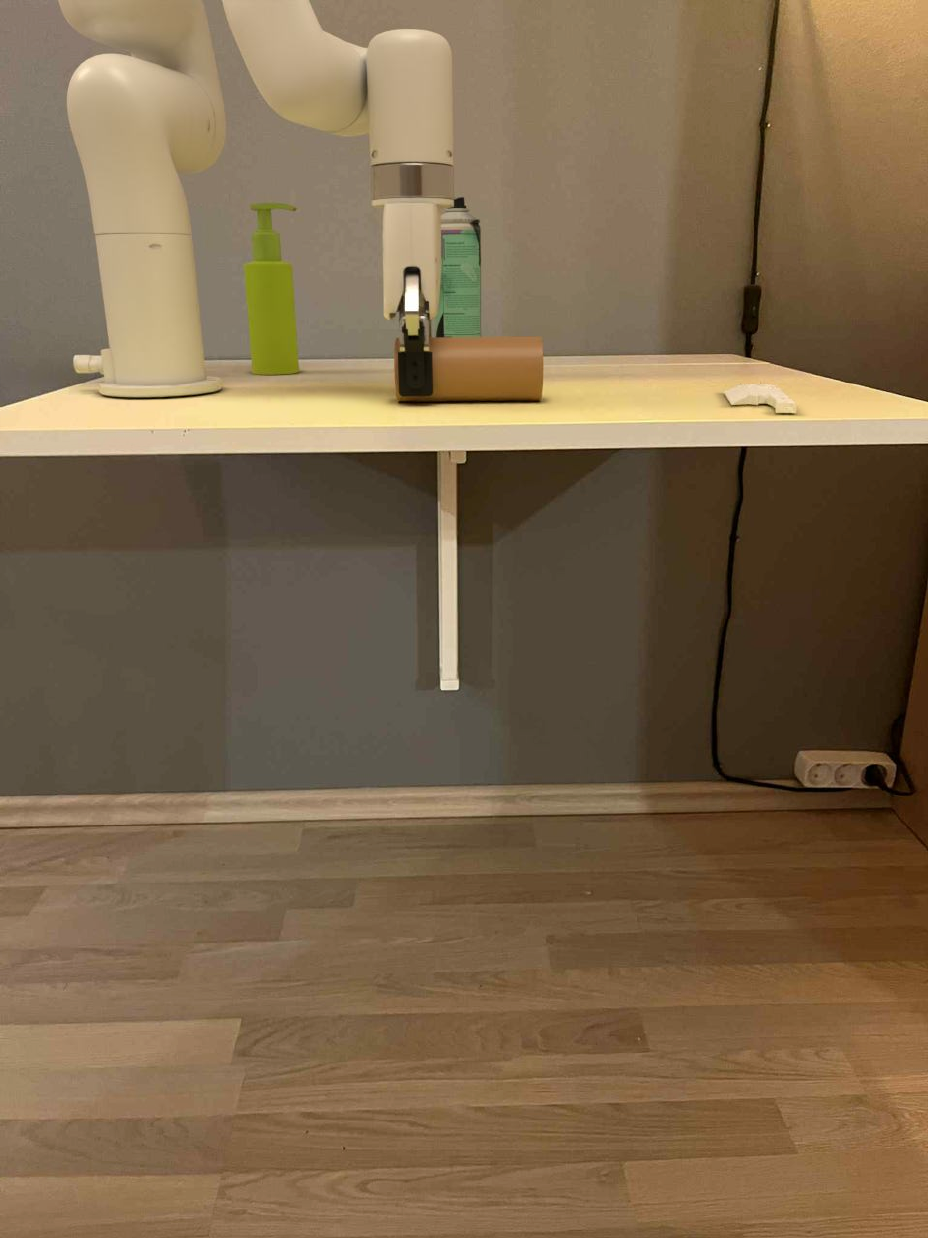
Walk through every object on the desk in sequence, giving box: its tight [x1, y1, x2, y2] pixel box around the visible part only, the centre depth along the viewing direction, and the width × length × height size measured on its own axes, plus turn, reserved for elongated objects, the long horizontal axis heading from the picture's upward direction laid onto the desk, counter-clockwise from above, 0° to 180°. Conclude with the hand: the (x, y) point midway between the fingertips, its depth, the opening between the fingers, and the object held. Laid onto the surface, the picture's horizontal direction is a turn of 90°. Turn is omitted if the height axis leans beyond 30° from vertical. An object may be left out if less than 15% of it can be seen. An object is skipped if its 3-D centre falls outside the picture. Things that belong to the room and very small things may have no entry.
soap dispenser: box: [243, 202, 300, 376], centre depth 119 cm, size 6×7×20 cm
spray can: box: [434, 196, 482, 337], centre depth 112 cm, size 6×6×20 cm
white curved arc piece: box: [722, 382, 797, 414], centre depth 89 cm, size 5×15×1 cm, turn 169°
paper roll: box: [393, 336, 544, 403], centre depth 92 cm, size 14×6×6 cm, turn 90°
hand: (417, 389), depth 93 cm, fingers closed on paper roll, 6 cm apart
